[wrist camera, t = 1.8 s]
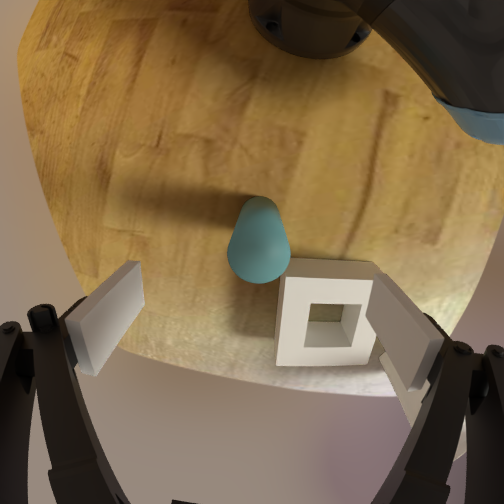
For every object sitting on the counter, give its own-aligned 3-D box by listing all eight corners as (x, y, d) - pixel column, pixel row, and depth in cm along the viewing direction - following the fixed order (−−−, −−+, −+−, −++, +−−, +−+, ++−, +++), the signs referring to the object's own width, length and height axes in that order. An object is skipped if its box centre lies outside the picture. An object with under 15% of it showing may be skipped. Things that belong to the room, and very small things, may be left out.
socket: (282, 257, 36) (285, 276, 30) (373, 261, 36) (390, 280, 30) (274, 338, 40) (275, 365, 34) (355, 338, 39) (367, 364, 34)
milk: (377, 357, 41) (427, 470, 20) (404, 330, 39) (471, 437, 18) (398, 370, 42) (447, 473, 21) (424, 345, 40) (486, 443, 19)
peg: (241, 195, 33) (228, 222, 20) (280, 197, 33) (293, 225, 20) (239, 232, 35) (226, 281, 22) (277, 234, 35) (287, 284, 22)
